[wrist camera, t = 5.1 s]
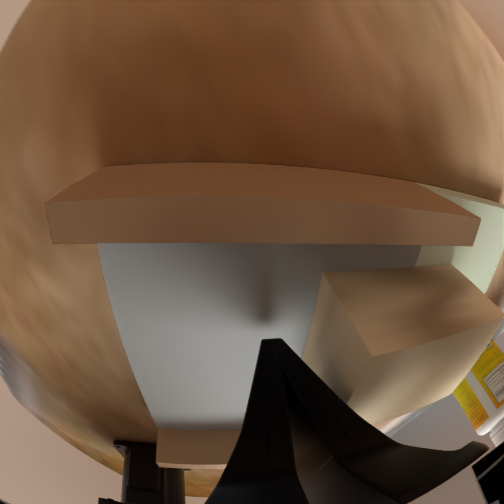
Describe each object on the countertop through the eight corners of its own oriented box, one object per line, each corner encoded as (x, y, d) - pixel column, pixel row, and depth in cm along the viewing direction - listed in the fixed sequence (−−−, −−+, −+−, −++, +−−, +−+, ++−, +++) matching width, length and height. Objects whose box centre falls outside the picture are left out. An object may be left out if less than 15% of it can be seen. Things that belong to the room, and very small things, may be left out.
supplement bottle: (449, 372, 20) (495, 447, 11) (427, 369, 18) (480, 461, 9) (487, 330, 18) (541, 403, 9) (472, 318, 16) (540, 408, 7)
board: (161, 416, 16) (159, 466, 12) (104, 166, 8) (44, 203, 5) (412, 383, 18) (432, 418, 15) (499, 202, 11) (545, 231, 8)
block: (451, 264, 10) (505, 314, 7) (416, 341, 13) (451, 393, 9) (322, 272, 10) (372, 356, 6) (300, 363, 12) (324, 438, 8)
